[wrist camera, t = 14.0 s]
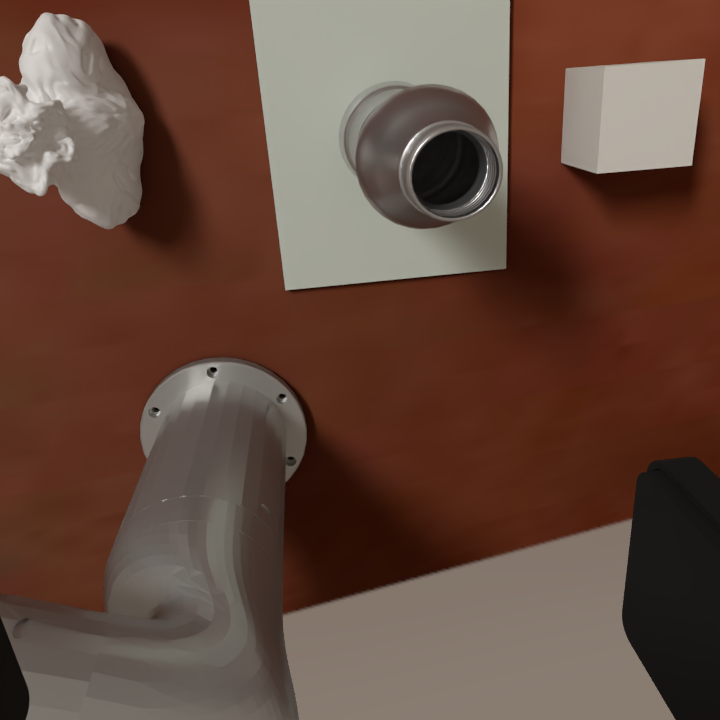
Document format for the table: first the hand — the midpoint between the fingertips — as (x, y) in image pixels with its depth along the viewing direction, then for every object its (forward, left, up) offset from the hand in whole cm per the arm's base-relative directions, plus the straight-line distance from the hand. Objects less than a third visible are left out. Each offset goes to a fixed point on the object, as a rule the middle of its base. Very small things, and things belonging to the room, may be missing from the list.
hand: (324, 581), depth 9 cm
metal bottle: (+3, -6, -38) cm, 38 cm away
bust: (+5, +13, -39) cm, 41 cm away
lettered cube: (+3, -21, -38) cm, 44 cm away
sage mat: (+3, -6, -38) cm, 39 cm away
